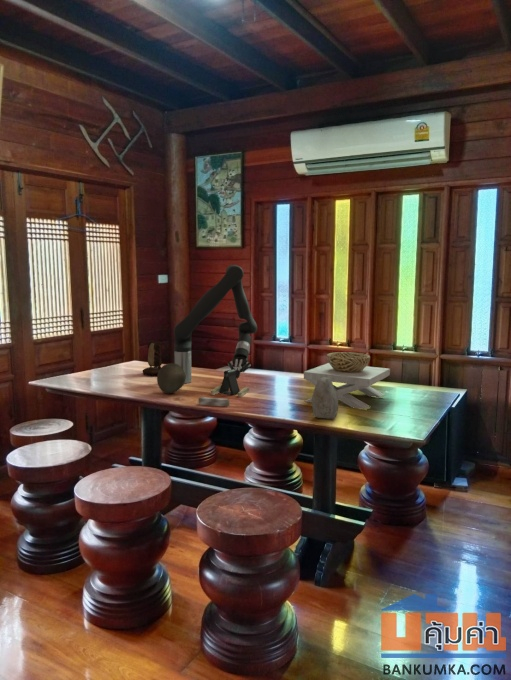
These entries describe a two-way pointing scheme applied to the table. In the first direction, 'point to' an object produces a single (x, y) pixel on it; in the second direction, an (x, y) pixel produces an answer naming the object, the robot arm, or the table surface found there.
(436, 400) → the table surface
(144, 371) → the oval plaque on stand
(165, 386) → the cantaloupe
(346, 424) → the table surface
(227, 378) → the phone stand
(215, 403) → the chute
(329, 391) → the decorative stone
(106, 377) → the table surface
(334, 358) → the small white table
